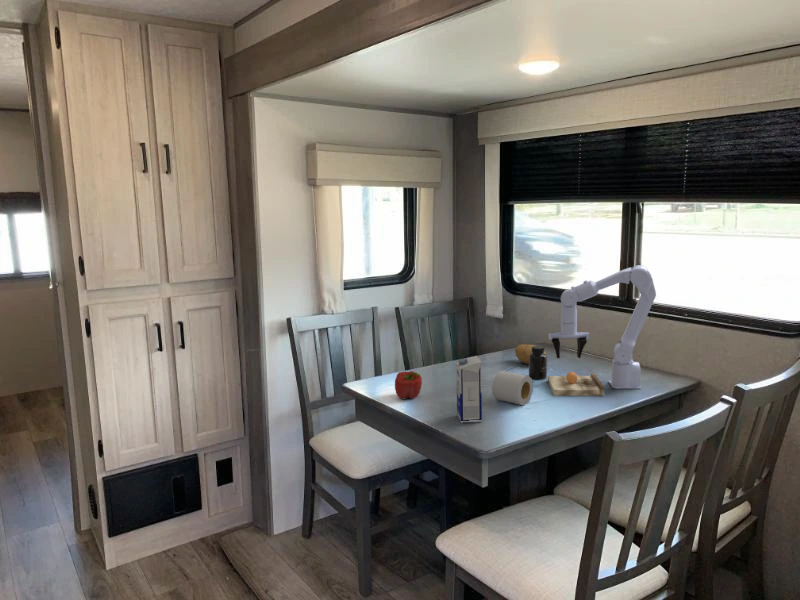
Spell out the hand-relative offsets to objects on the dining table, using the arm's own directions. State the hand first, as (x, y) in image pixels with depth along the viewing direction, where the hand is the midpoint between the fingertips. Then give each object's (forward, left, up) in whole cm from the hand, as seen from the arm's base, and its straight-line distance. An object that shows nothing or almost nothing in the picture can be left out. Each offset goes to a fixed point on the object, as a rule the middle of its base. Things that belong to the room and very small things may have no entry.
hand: (568, 357), depth 220 cm
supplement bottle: (+11, -5, -10) cm, 15 cm away
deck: (-1, +8, -9) cm, 12 cm away
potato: (+12, -23, -10) cm, 28 cm away
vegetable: (+59, +18, -10) cm, 62 cm away
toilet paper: (+23, +22, -10) cm, 33 cm away
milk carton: (+38, +38, -10) cm, 54 cm away
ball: (0, +8, -5) cm, 9 cm away
